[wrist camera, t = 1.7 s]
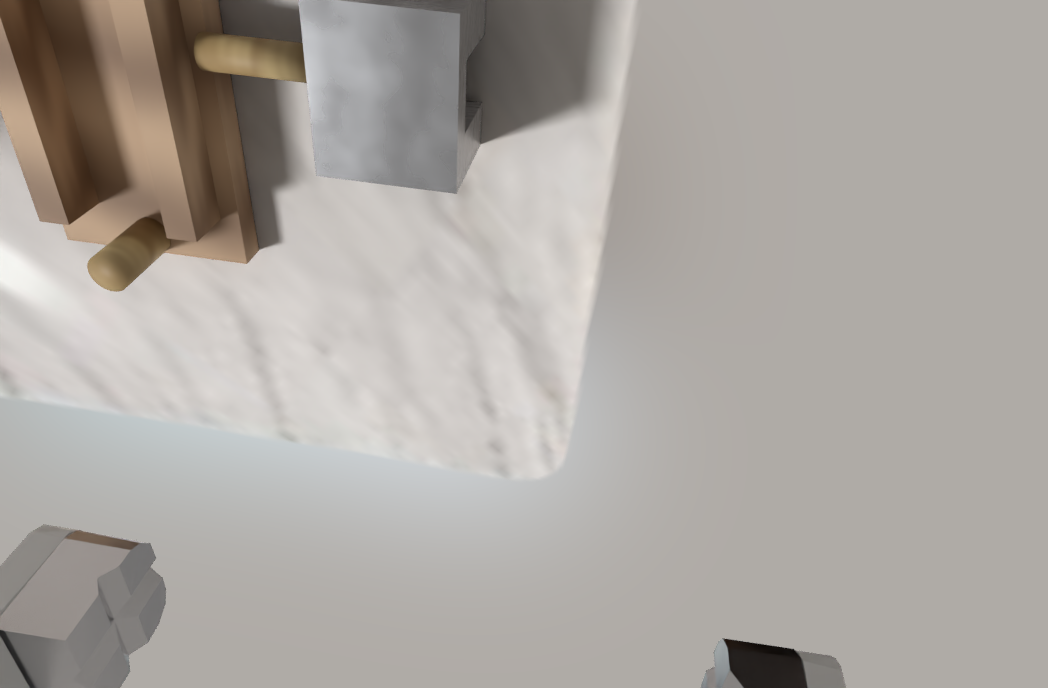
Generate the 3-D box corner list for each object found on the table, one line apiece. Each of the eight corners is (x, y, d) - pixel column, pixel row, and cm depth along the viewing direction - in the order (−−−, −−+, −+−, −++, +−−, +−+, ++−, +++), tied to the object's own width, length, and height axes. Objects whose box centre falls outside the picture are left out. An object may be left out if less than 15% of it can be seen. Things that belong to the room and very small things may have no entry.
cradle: (-82, -296, 28) (-219, -316, 23) (305, -262, 27) (238, -275, 22) (84, 226, 41) (17, 277, 36) (347, 262, 40) (311, 318, 35)
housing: (347, -32, 31) (297, -5, 27) (486, -17, 31) (460, 13, 26) (357, 129, 35) (316, 175, 31) (480, 144, 35) (456, 193, 31)
